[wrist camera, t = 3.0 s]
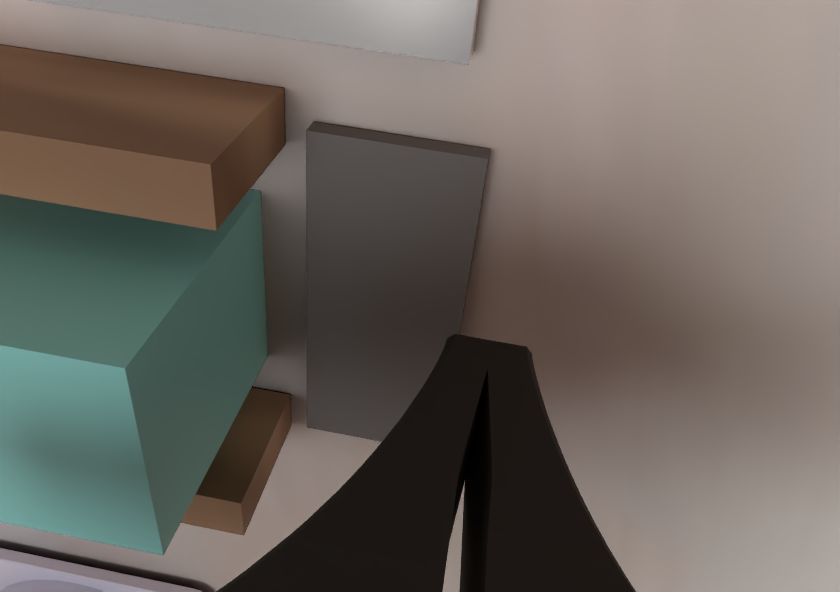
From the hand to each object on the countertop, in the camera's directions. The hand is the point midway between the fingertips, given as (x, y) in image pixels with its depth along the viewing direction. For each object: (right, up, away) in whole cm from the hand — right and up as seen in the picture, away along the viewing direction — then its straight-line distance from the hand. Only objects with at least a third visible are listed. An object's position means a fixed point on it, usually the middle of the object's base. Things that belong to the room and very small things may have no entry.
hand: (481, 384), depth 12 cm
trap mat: (-2, +1, +2) cm, 3 cm away
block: (-6, +2, +2) cm, 7 cm away
